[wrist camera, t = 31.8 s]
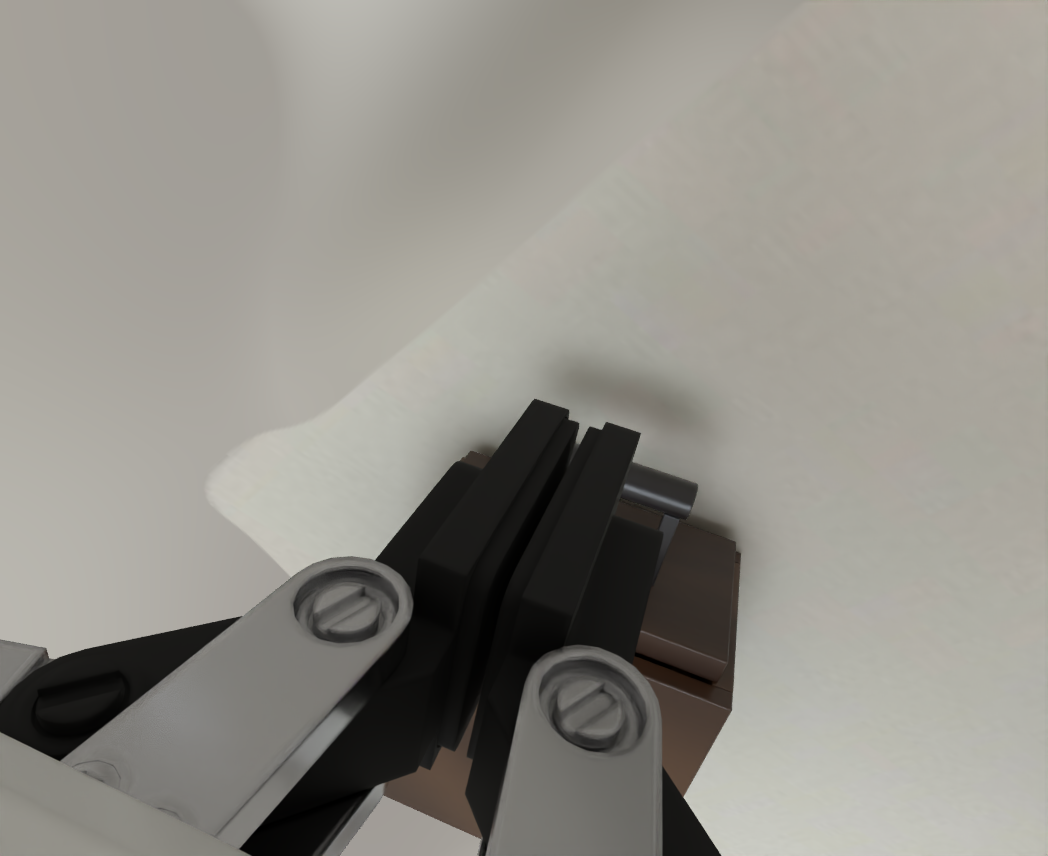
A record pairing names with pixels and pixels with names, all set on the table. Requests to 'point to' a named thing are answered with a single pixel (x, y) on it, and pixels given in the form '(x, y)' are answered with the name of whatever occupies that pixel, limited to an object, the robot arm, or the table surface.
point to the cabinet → (686, 737)
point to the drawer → (678, 576)
